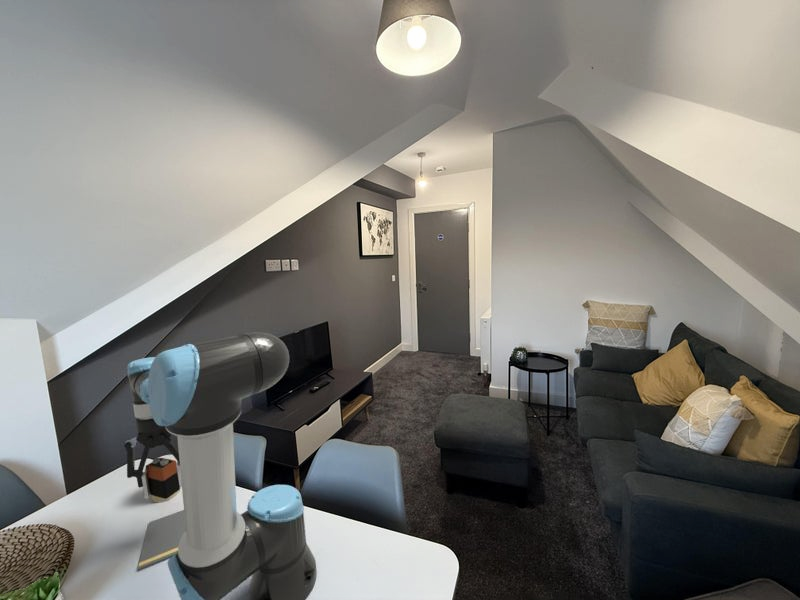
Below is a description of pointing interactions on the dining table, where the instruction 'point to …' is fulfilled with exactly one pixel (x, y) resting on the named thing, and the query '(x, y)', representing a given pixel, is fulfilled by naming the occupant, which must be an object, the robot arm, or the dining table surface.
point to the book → (162, 539)
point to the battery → (162, 477)
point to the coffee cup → (158, 499)
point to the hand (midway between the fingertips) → (165, 489)
